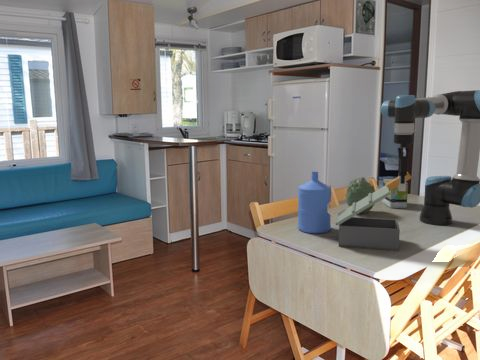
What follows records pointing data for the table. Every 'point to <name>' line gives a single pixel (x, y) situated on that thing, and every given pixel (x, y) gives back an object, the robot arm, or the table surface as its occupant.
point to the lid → (368, 200)
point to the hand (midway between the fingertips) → (401, 190)
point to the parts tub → (369, 233)
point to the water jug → (314, 206)
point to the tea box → (396, 196)
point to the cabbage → (358, 191)
